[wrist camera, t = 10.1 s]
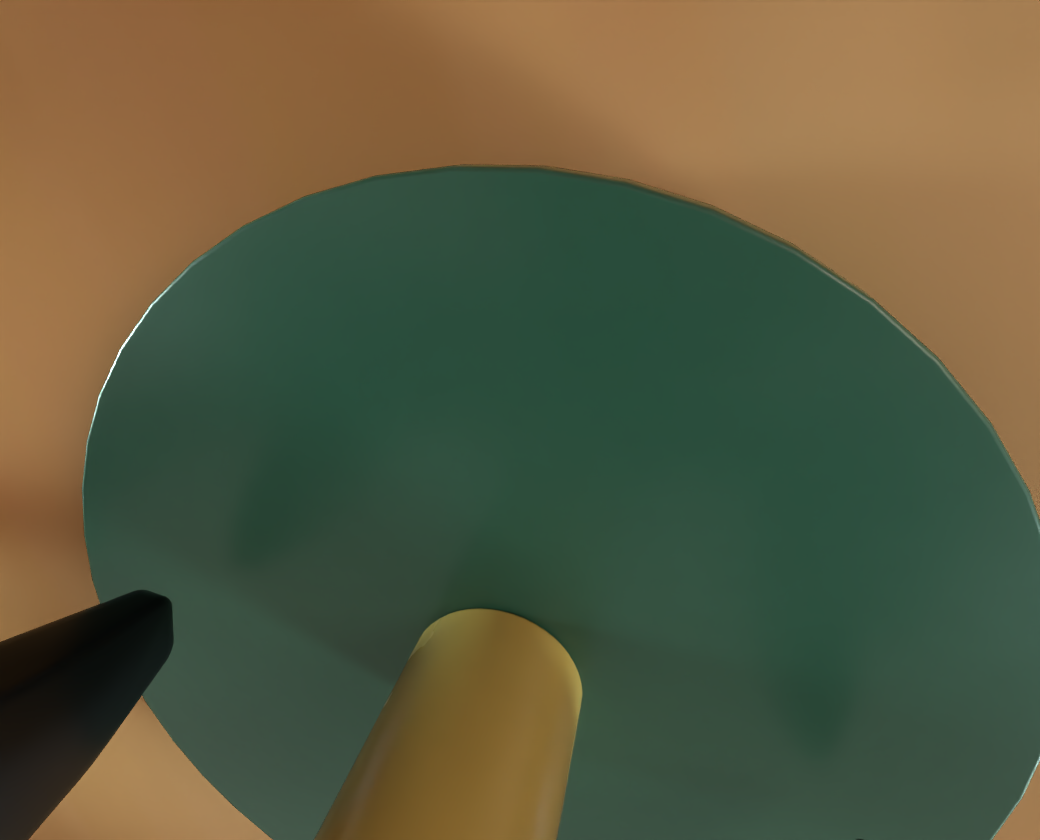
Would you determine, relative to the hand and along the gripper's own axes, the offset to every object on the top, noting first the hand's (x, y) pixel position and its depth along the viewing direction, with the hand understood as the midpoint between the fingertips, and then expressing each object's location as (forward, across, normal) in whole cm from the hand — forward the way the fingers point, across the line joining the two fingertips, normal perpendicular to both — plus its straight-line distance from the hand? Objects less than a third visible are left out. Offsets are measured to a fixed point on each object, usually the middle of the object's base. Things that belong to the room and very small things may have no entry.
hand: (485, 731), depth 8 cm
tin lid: (+1, 0, 0) cm, 1 cm away
